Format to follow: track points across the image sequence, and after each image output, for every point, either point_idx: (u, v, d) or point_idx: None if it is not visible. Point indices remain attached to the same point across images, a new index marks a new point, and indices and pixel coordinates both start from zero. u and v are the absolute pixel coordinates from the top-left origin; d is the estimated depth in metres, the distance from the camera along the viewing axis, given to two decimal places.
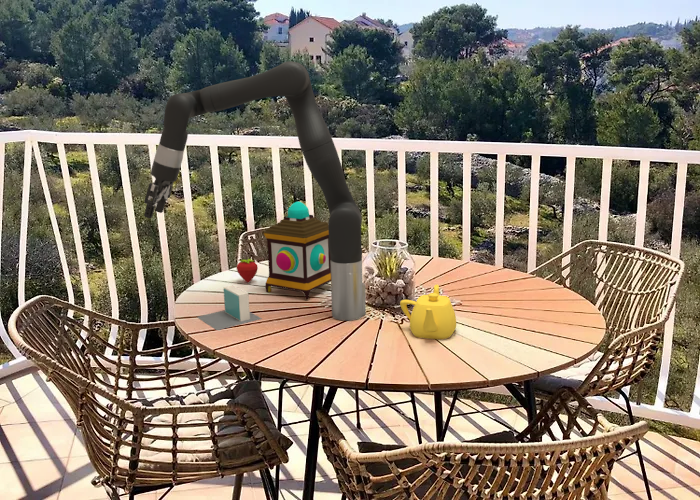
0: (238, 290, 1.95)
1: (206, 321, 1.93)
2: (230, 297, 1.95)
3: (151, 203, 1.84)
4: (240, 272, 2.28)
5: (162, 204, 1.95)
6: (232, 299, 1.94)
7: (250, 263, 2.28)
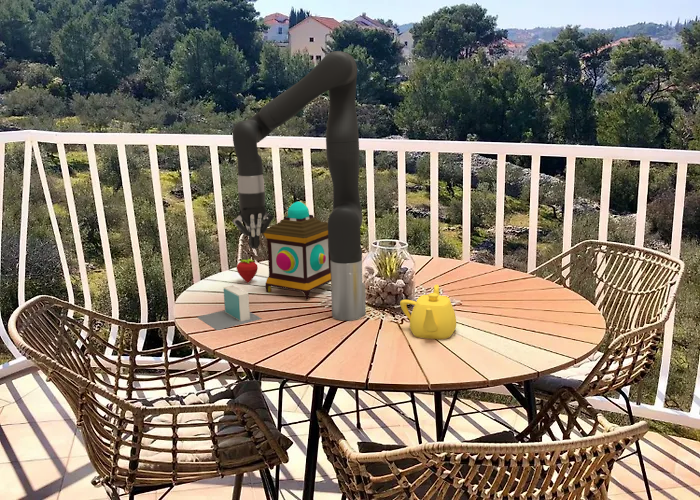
0: (238, 290, 1.95)
1: (206, 321, 1.93)
2: (230, 297, 1.95)
3: (245, 233, 1.92)
4: (240, 272, 2.28)
5: None
6: (232, 299, 1.94)
7: (250, 263, 2.28)
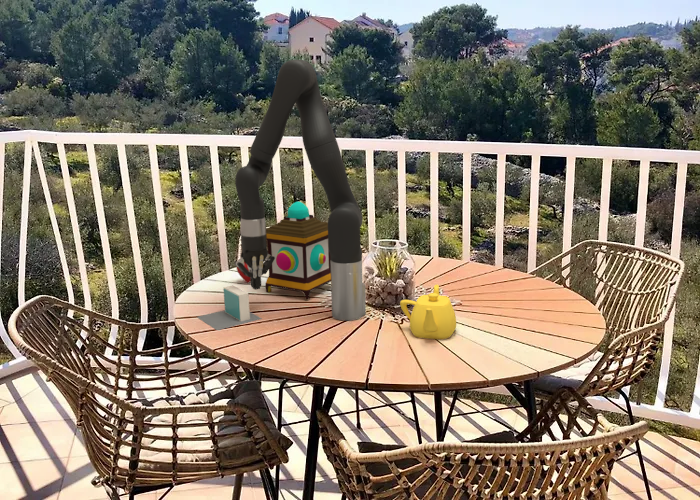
0: (238, 290, 1.95)
1: (206, 321, 1.93)
2: (230, 297, 1.95)
3: (247, 274, 1.95)
4: (240, 272, 2.28)
5: None
6: (232, 299, 1.94)
7: None
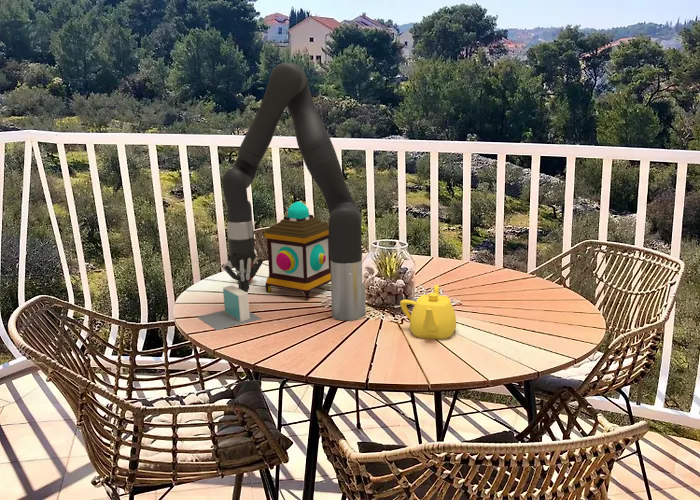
0: (238, 290, 1.94)
1: (206, 321, 1.93)
2: (230, 297, 1.95)
3: (234, 278, 1.93)
4: None
5: None
6: (232, 299, 1.94)
7: None
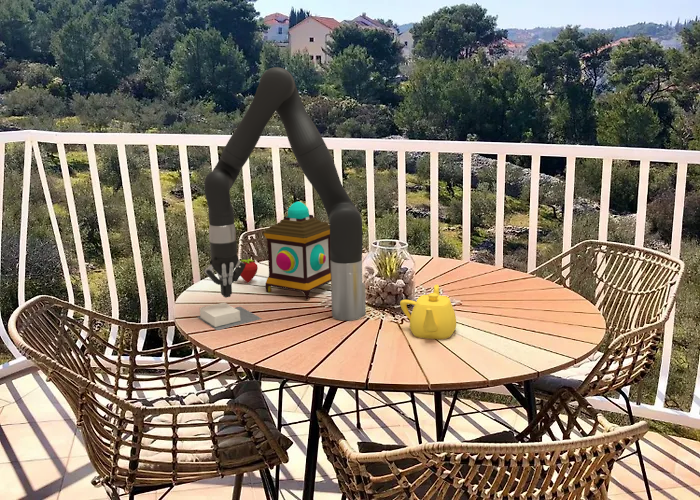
0: (208, 316, 1.90)
1: None
2: None
3: (217, 282, 1.90)
4: None
5: None
6: None
7: (250, 263, 2.28)
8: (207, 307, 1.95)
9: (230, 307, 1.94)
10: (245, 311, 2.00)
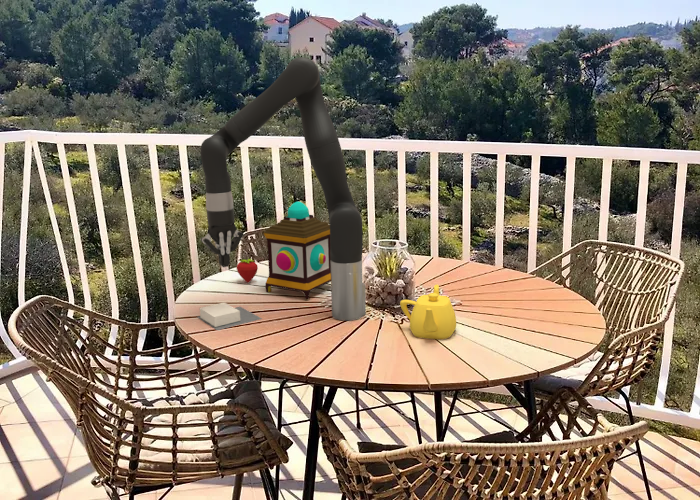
0: (208, 316, 1.90)
1: None
2: None
3: (214, 251, 1.87)
4: (240, 272, 2.28)
5: None
6: None
7: (250, 263, 2.28)
8: (207, 307, 1.95)
9: (230, 307, 1.94)
10: (245, 311, 2.00)
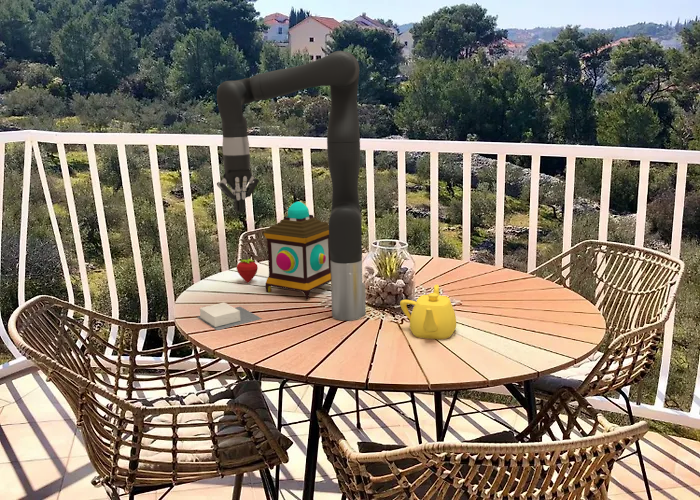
0: (208, 316, 1.90)
1: None
2: None
3: (230, 196, 1.89)
4: (240, 272, 2.28)
5: None
6: None
7: (250, 263, 2.28)
8: (207, 307, 1.95)
9: (230, 307, 1.94)
10: (245, 311, 2.00)
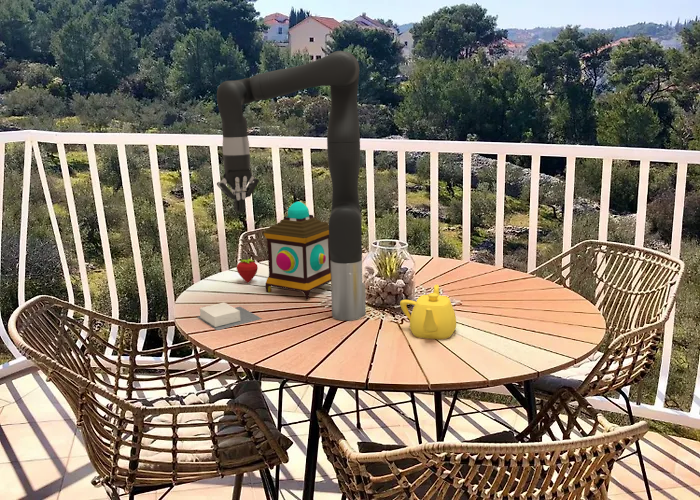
0: (208, 316, 1.90)
1: None
2: None
3: (230, 196, 1.89)
4: (240, 272, 2.28)
5: None
6: None
7: (250, 263, 2.27)
8: (207, 307, 1.95)
9: (230, 307, 1.94)
10: (245, 311, 2.00)
